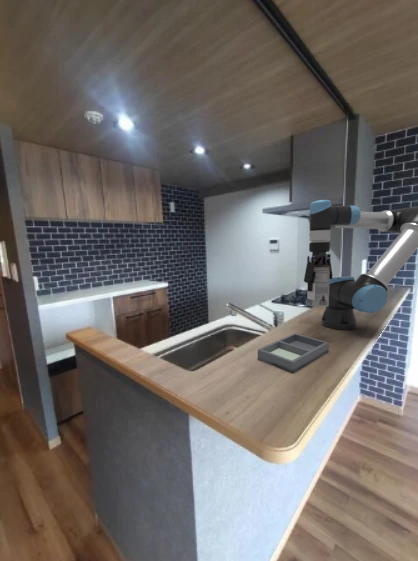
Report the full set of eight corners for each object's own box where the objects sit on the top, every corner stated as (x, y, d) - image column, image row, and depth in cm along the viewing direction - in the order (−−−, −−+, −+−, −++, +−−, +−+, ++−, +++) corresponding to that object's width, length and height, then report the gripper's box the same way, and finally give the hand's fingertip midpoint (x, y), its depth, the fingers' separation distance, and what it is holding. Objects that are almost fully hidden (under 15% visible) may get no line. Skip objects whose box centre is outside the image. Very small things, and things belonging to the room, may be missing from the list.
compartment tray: (294, 341, 107) (294, 333, 106) (328, 351, 96) (328, 342, 95) (257, 358, 92) (257, 349, 92) (292, 373, 81) (293, 362, 81)
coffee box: (308, 301, 111) (308, 263, 109) (324, 301, 110) (325, 263, 107) (311, 306, 102) (312, 265, 100) (329, 307, 101) (330, 265, 99)
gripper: (324, 240, 112) (323, 291, 116) (294, 243, 98) (294, 300, 101) (342, 240, 107) (341, 293, 110) (313, 242, 92) (312, 303, 95)
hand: (318, 296), depth 106 cm, fingers closed on coffee box, 11 cm apart
